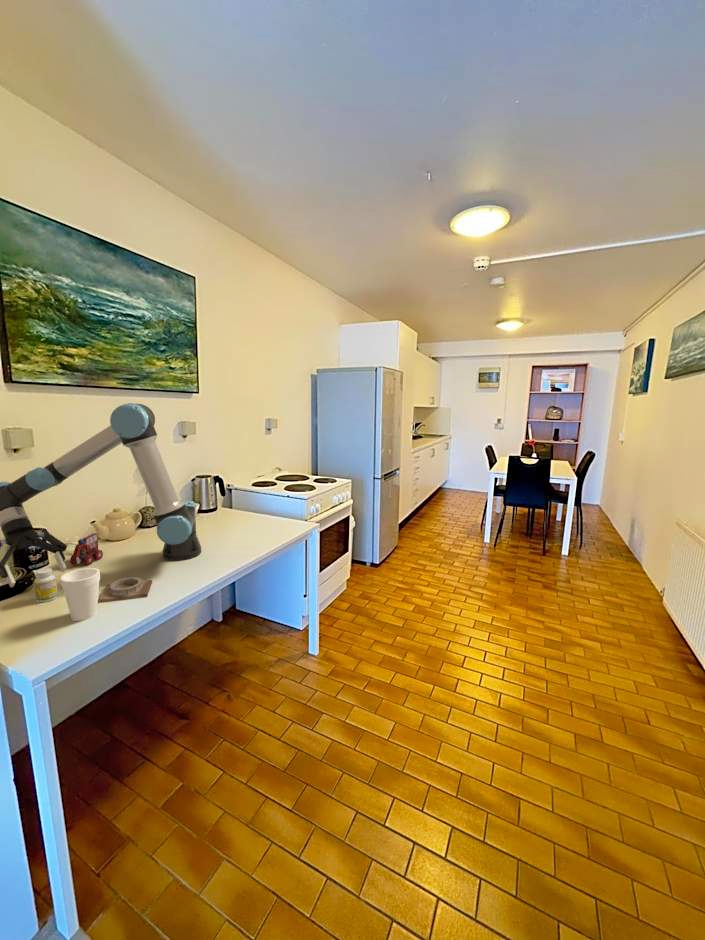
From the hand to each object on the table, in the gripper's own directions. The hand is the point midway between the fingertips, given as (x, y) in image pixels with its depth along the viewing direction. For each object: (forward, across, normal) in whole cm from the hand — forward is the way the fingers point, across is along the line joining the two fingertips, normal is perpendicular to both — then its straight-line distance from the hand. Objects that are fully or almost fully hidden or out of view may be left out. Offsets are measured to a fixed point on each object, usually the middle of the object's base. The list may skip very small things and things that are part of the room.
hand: (39, 577), depth 123 cm
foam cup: (+21, -2, +11) cm, 24 cm away
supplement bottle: (+7, -1, -4) cm, 8 cm away
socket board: (+18, -17, +8) cm, 26 cm away
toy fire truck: (-8, -22, -19) cm, 30 cm away
